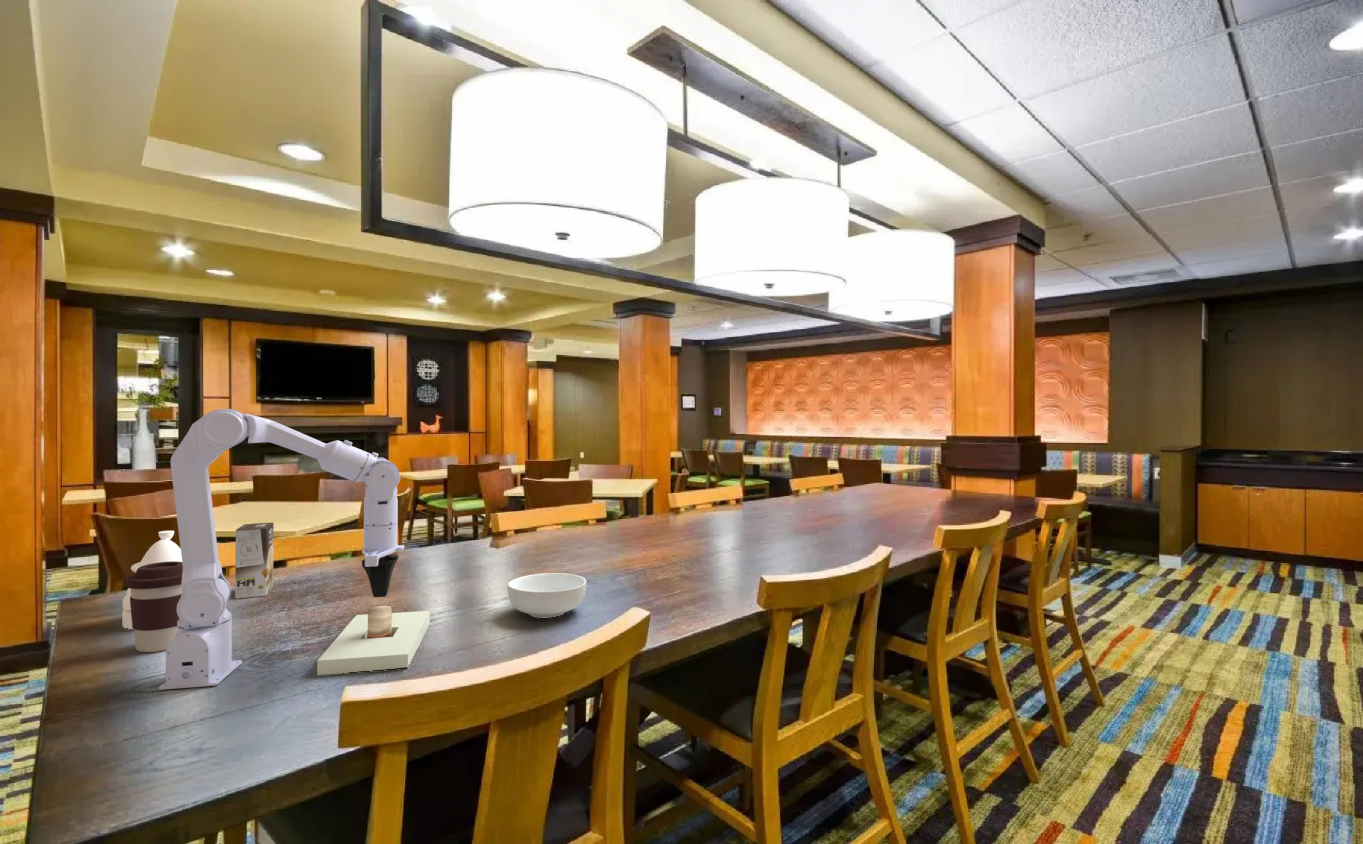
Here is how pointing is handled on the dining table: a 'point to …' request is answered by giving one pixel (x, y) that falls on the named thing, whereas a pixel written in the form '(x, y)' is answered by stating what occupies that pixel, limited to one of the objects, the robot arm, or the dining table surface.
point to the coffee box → (254, 560)
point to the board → (374, 645)
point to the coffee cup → (155, 604)
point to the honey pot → (155, 554)
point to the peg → (379, 622)
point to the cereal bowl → (547, 593)
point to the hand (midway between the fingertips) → (380, 596)
